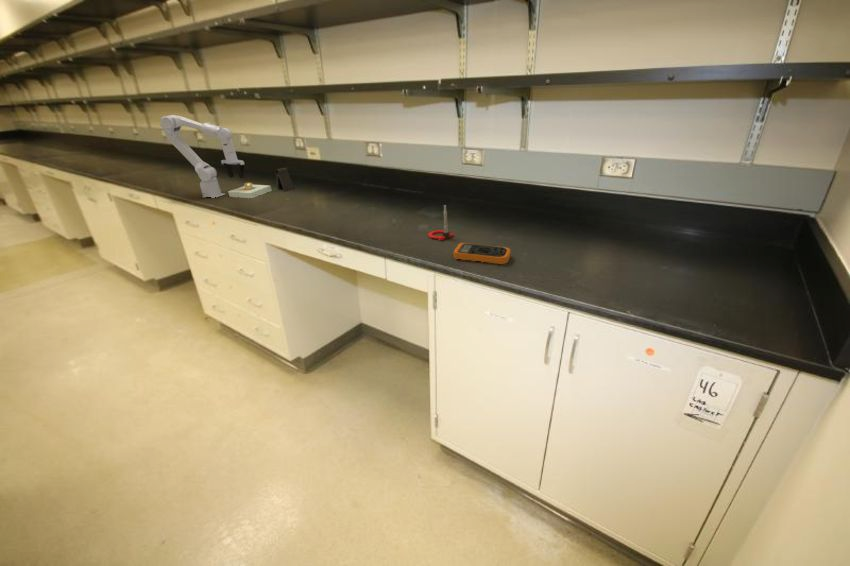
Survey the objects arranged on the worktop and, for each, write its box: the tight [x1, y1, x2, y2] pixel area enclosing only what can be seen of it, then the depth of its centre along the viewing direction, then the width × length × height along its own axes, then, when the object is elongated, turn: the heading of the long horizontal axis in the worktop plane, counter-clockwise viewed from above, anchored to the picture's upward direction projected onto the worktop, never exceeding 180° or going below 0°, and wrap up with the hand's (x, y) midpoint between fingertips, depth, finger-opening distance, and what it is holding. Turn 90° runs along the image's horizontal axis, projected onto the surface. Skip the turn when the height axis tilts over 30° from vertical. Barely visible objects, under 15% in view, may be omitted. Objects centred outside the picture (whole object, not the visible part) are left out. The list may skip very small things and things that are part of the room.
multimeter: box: [453, 242, 511, 265], centre depth 122 cm, size 9×18×3 cm, turn 69°
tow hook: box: [427, 204, 455, 242], centre depth 139 cm, size 8×13×9 cm
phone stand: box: [275, 167, 295, 192], centre depth 213 cm, size 9×6×12 cm, turn 50°
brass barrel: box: [243, 182, 253, 190], centre depth 208 cm, size 4×4×6 cm
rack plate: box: [227, 183, 273, 200], centre depth 209 cm, size 16×16×3 cm
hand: (236, 177), depth 205 cm, fingers open, 7 cm apart
